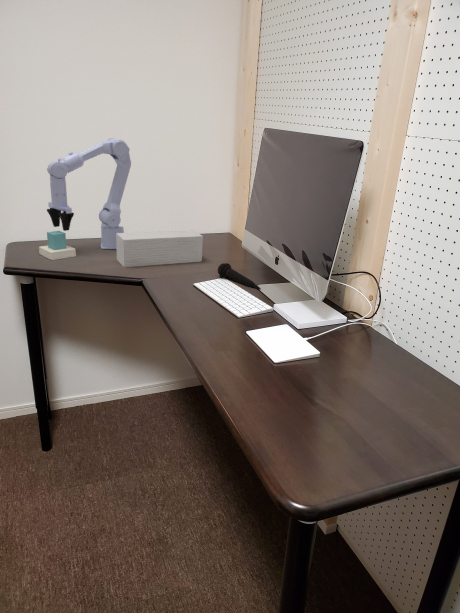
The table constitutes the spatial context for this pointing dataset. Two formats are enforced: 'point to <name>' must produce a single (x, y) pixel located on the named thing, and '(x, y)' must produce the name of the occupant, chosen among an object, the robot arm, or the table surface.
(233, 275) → the microphone
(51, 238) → the teal block
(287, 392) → the table surface
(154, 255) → the stack of papers
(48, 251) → the cream plinth
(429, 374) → the table surface
